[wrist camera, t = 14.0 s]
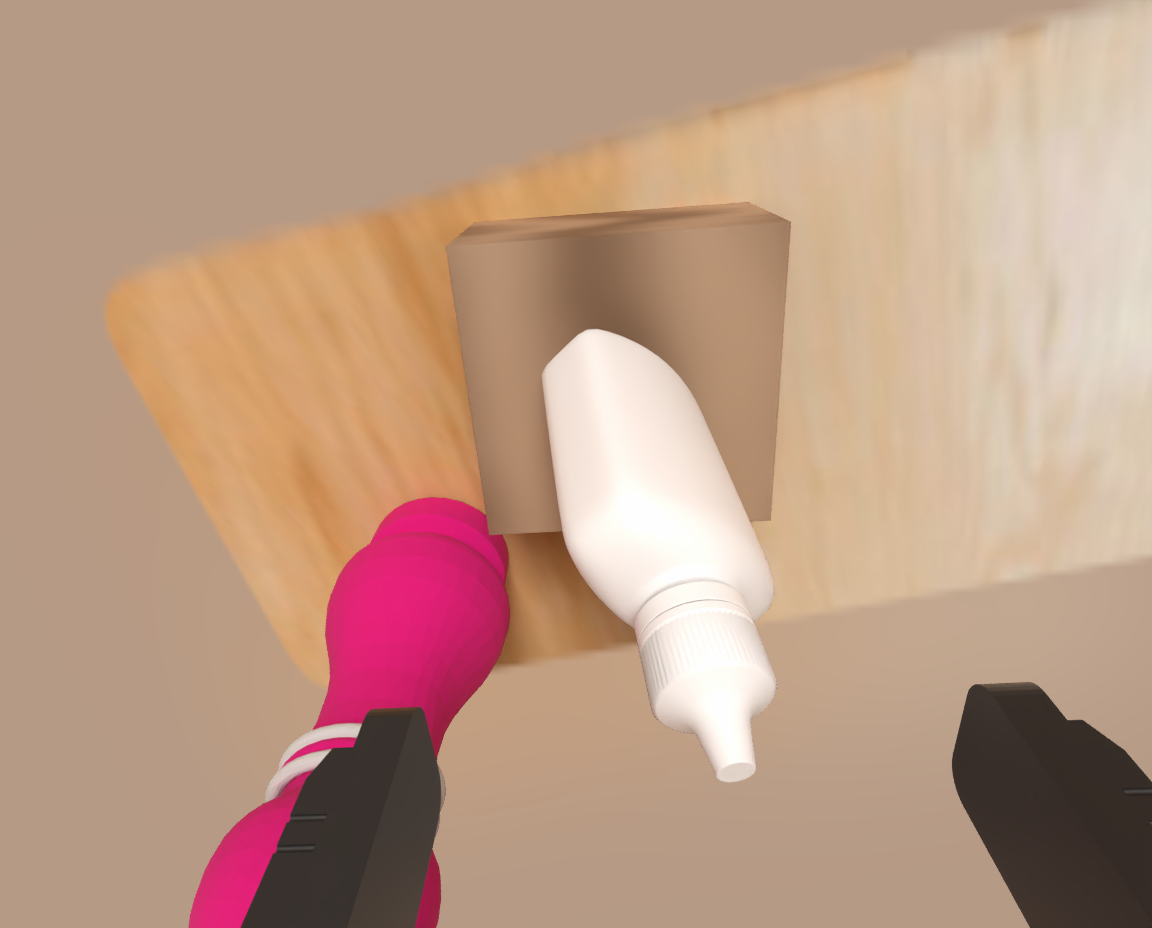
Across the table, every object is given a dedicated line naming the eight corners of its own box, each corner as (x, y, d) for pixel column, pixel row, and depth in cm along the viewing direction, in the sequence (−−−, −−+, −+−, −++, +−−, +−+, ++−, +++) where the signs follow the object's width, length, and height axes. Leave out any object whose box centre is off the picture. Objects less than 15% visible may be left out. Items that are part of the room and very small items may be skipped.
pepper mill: (524, 613, 33) (449, 1192, 15) (378, 616, 33) (133, 1190, 15) (512, 483, 30) (398, 1022, 12) (350, 488, 30) (-3, 1023, 12)
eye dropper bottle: (582, 479, 23) (649, 859, 14) (528, 341, 19) (569, 724, 10) (706, 442, 22) (864, 808, 13) (674, 293, 19) (857, 649, 10)
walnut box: (746, 201, 25) (790, 222, 19) (736, 447, 29) (770, 520, 24) (476, 221, 25) (446, 246, 20) (507, 461, 30) (489, 534, 24)
